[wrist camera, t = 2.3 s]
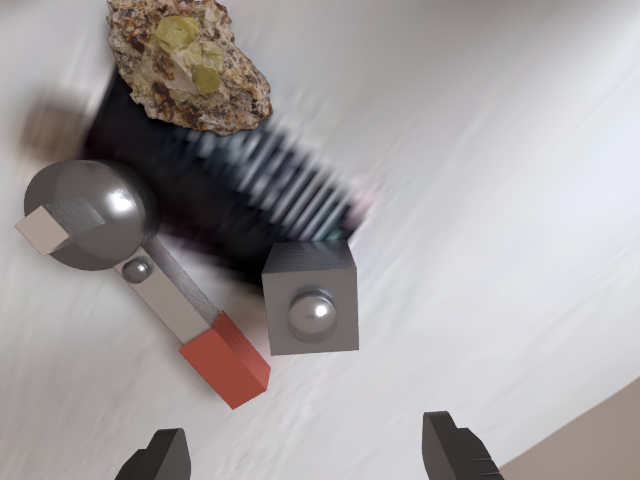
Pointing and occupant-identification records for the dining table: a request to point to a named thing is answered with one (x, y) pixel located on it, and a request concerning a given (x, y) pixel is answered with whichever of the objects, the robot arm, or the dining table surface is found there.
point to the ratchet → (137, 263)
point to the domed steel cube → (311, 297)
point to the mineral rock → (187, 64)
